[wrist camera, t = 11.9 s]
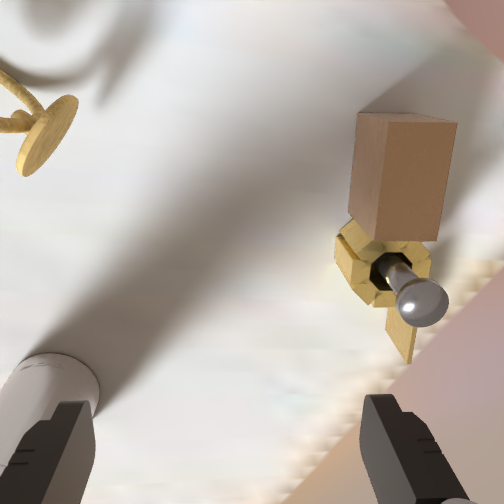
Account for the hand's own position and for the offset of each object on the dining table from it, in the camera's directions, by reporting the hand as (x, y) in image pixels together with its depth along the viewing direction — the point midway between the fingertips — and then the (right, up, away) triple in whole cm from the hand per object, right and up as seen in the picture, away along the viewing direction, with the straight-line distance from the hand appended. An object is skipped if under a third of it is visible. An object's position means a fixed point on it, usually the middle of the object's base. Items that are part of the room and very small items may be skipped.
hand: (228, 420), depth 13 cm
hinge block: (+12, +7, +30) cm, 33 cm away
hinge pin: (+13, +5, +31) cm, 34 cm away
